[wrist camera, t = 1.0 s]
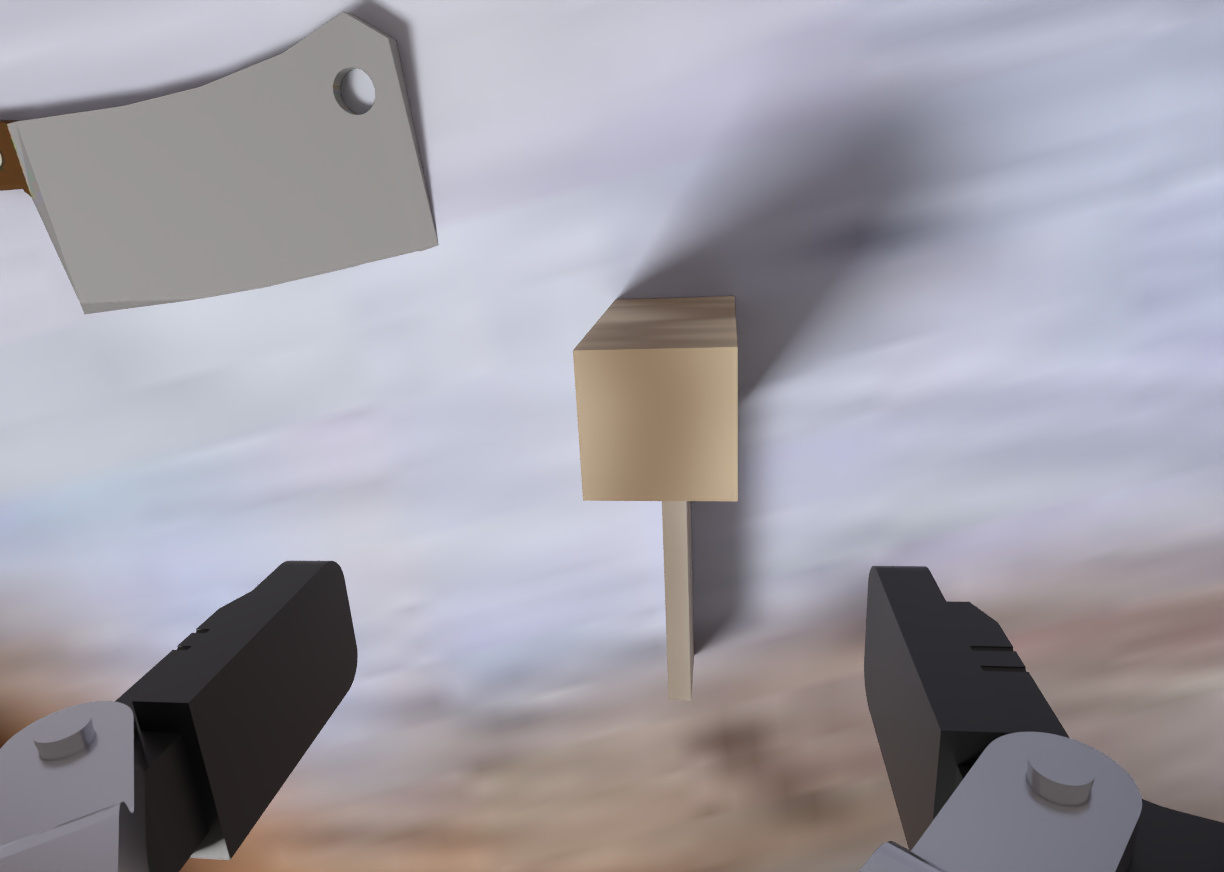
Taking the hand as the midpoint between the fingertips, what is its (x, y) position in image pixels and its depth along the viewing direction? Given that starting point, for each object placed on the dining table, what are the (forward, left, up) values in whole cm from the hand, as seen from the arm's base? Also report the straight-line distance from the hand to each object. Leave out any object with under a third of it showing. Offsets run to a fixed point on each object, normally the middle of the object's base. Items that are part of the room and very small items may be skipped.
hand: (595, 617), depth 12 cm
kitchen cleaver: (+20, -6, -17) cm, 27 cm away
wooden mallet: (0, +5, -16) cm, 17 cm away
